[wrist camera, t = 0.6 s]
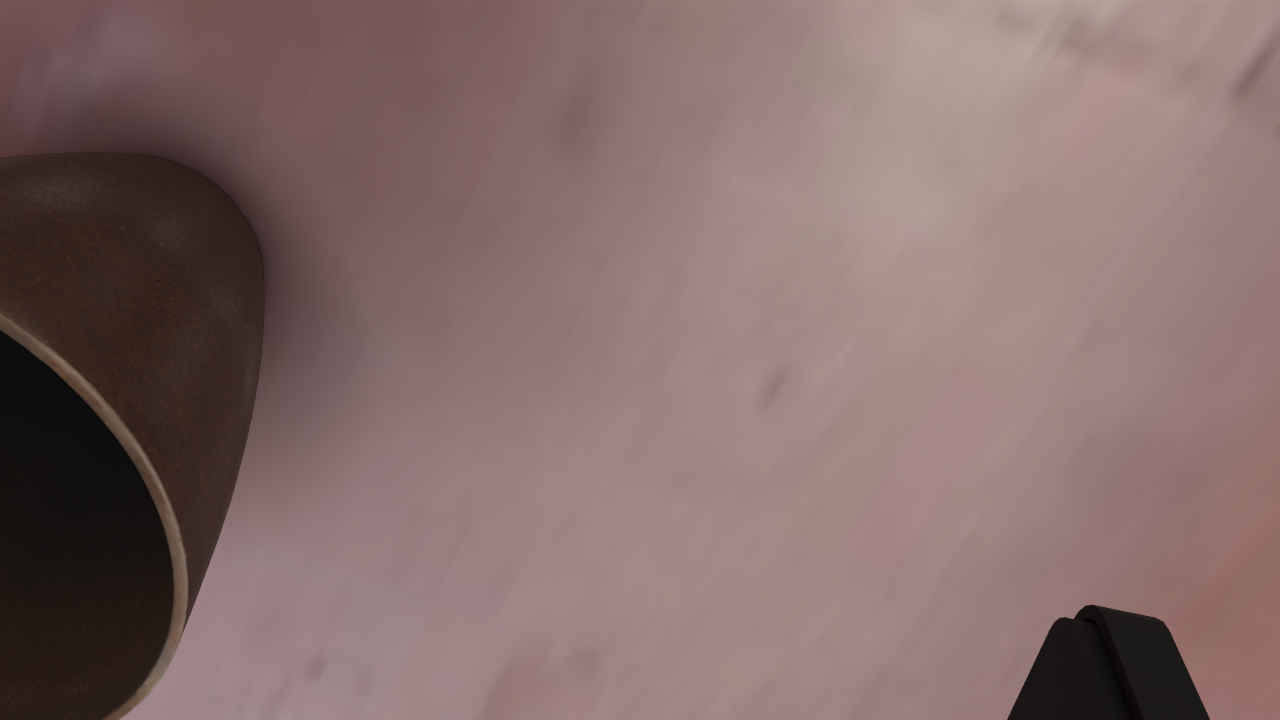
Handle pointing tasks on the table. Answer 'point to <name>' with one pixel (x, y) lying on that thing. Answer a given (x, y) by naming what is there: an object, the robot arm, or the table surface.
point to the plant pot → (115, 418)
